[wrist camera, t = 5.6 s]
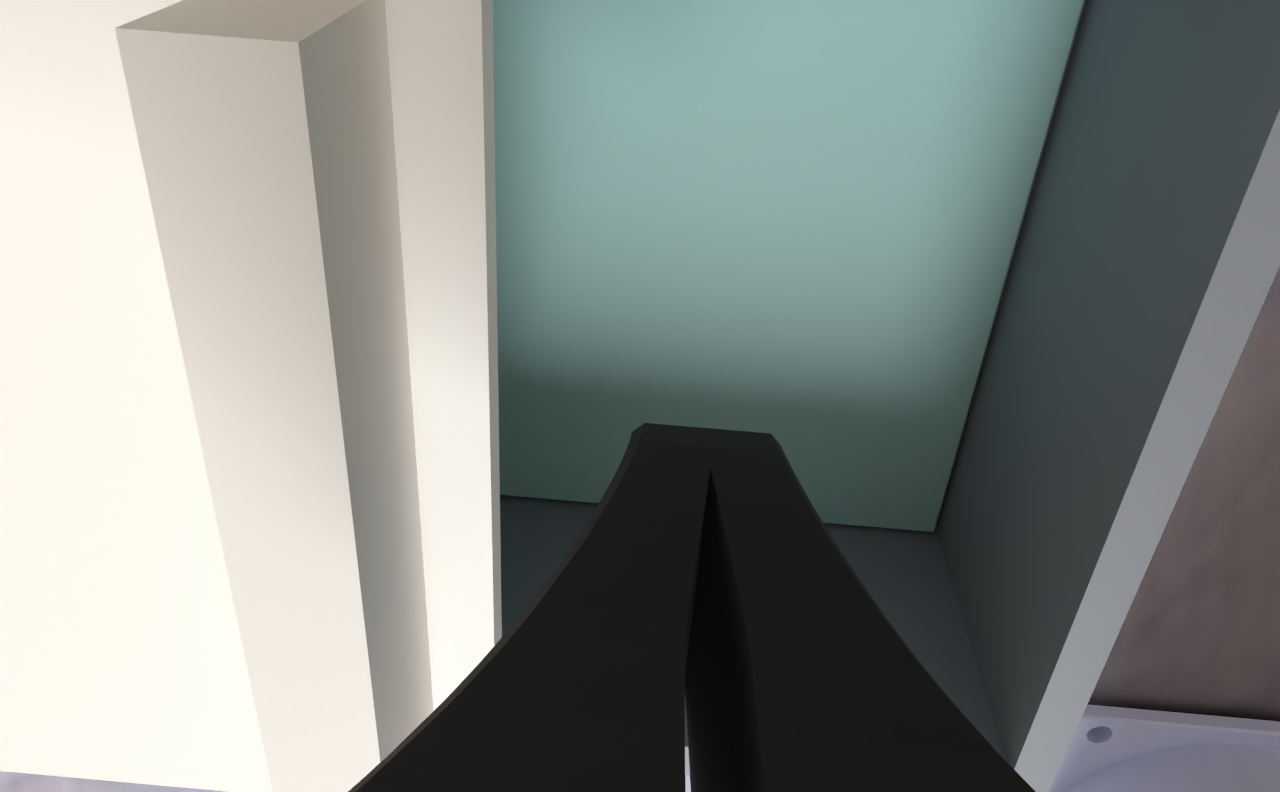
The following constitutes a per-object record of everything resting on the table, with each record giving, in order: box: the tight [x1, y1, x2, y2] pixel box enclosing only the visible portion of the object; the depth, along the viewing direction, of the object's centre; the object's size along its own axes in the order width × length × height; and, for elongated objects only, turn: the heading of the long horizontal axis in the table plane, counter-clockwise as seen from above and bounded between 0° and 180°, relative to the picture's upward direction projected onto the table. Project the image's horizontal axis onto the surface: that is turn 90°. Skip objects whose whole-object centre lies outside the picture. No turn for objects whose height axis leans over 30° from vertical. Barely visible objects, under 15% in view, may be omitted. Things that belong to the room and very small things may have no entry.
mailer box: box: [493, 0, 1280, 792], centre depth 14 cm, size 16×12×6 cm
